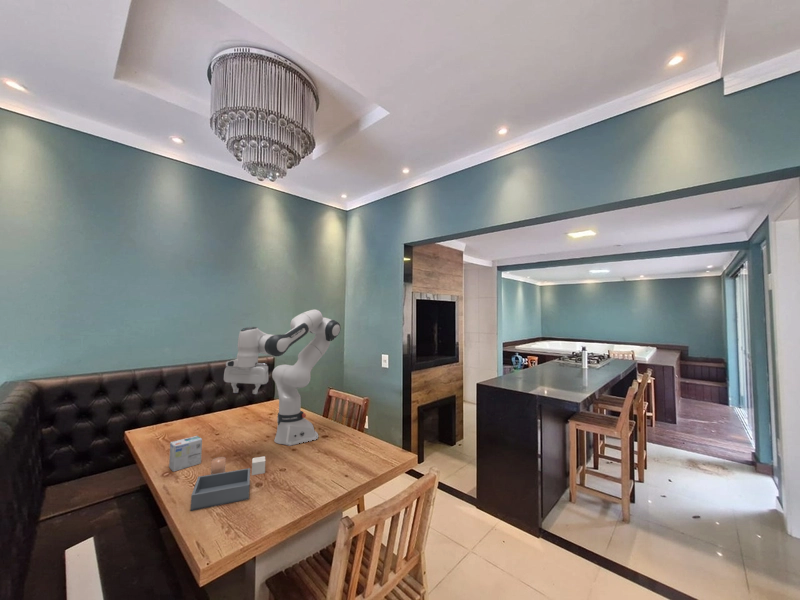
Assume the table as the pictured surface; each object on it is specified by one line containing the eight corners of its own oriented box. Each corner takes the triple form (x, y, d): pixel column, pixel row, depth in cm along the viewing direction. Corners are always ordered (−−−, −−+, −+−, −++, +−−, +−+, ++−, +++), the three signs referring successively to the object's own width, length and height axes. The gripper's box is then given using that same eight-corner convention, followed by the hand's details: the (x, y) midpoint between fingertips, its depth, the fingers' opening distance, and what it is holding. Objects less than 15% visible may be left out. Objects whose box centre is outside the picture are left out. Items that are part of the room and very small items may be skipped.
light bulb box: (196, 459, 142) (197, 434, 143) (201, 463, 138) (203, 438, 139) (168, 467, 134) (169, 441, 135) (172, 472, 130) (174, 445, 131)
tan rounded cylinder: (225, 473, 130) (226, 456, 130) (224, 479, 125) (225, 461, 126) (211, 475, 128) (212, 458, 128) (209, 481, 123) (210, 463, 124)
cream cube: (264, 468, 135) (265, 456, 136) (264, 473, 131) (265, 461, 131) (251, 470, 133) (252, 458, 133) (251, 475, 129) (252, 463, 129)
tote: (249, 481, 124) (250, 468, 124) (248, 499, 112) (249, 484, 112) (197, 490, 117) (198, 476, 117) (190, 511, 104) (191, 495, 105)
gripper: (272, 362, 145) (270, 392, 144) (231, 360, 148) (229, 390, 147) (264, 364, 139) (262, 396, 138) (222, 362, 142) (220, 393, 141)
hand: (245, 393), depth 142 cm, fingers open, 8 cm apart
